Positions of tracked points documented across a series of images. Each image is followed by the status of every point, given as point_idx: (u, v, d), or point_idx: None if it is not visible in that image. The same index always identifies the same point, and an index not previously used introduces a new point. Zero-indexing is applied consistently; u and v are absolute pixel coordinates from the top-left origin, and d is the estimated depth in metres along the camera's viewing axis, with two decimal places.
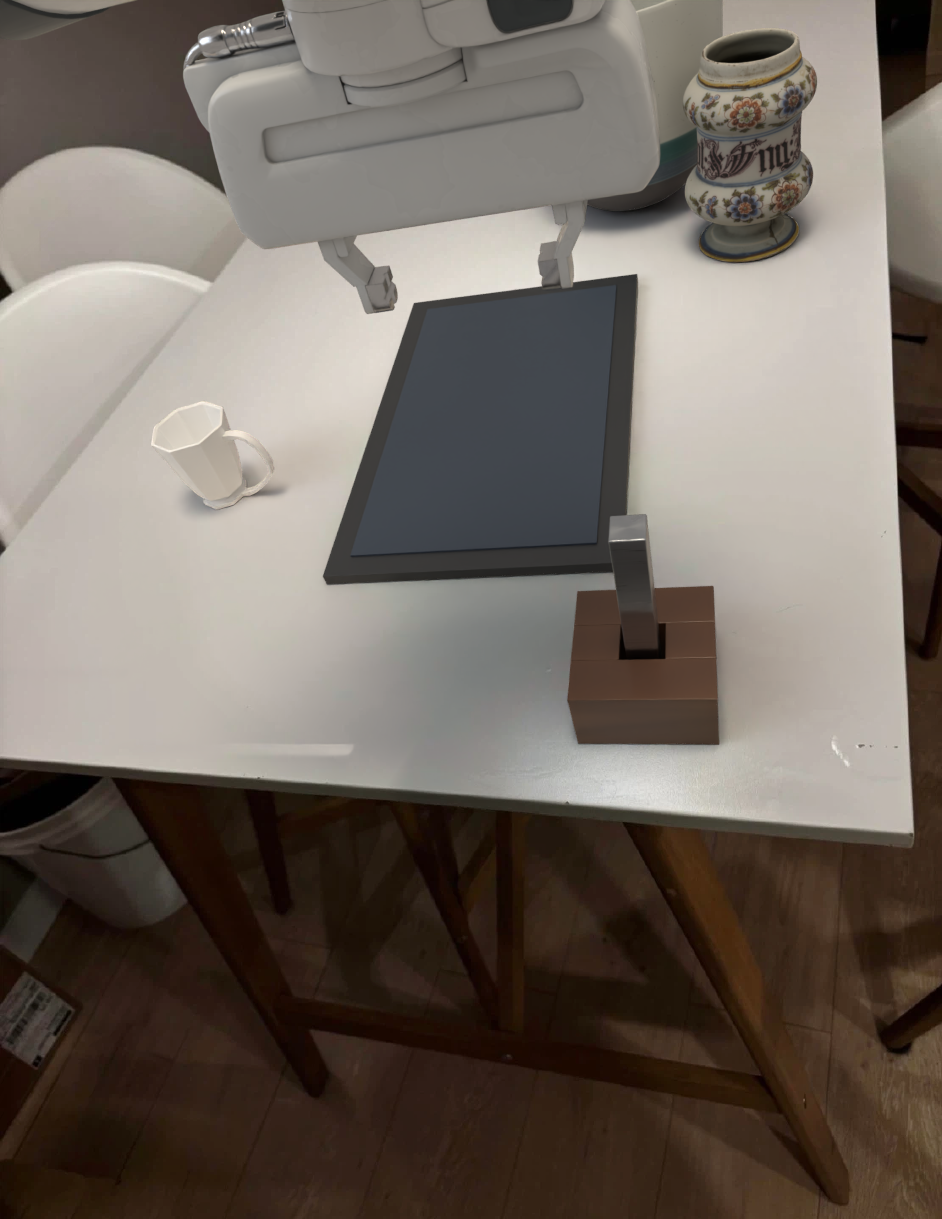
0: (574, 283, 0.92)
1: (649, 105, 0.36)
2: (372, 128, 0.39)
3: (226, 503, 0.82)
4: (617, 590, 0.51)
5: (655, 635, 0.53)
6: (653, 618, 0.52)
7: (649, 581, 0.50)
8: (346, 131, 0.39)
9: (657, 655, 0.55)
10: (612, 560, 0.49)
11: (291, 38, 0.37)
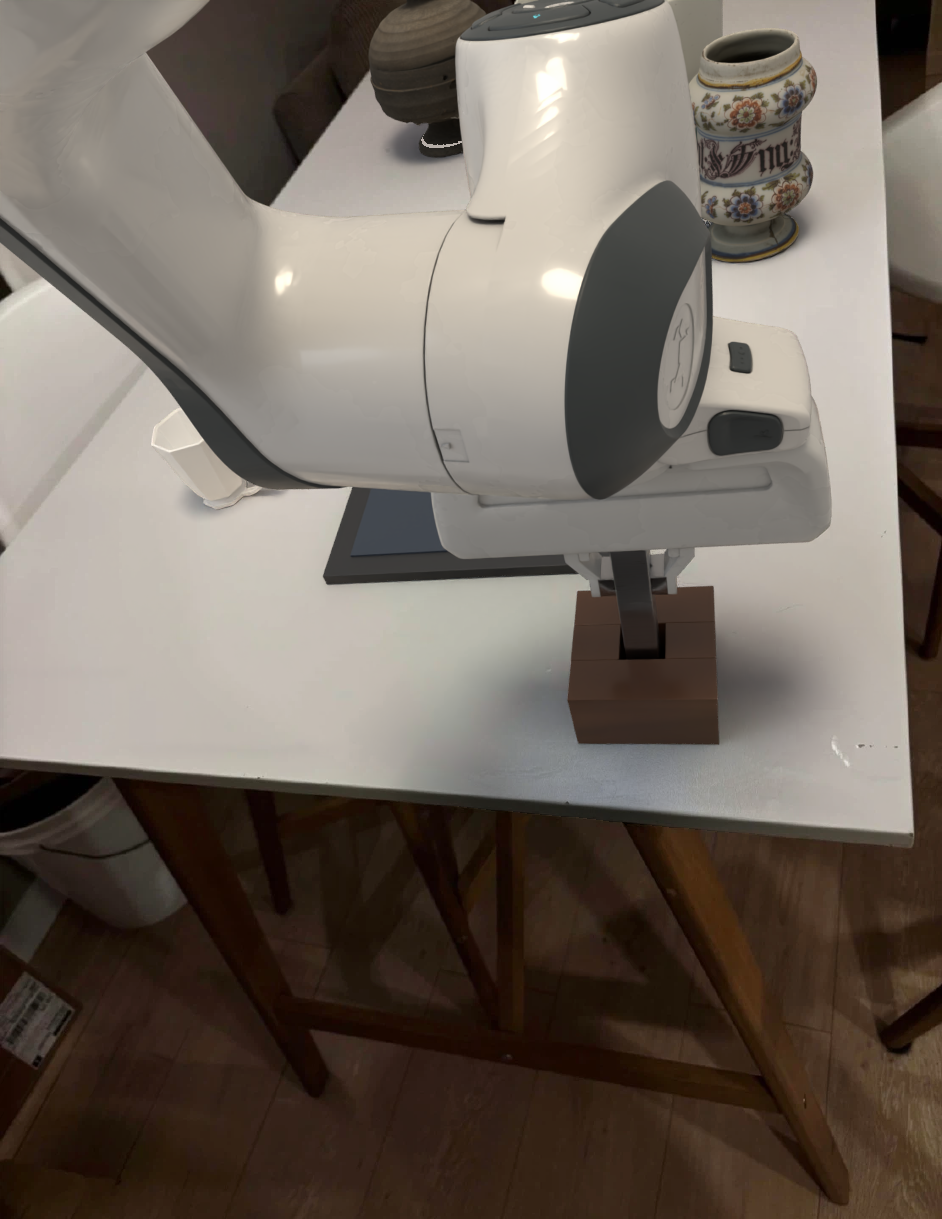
0: None
1: (830, 492, 0.42)
2: None
3: (226, 503, 0.82)
4: (617, 590, 0.51)
5: (655, 635, 0.53)
6: (653, 618, 0.52)
7: (649, 581, 0.50)
8: None
9: (657, 655, 0.55)
10: (611, 560, 0.49)
11: None
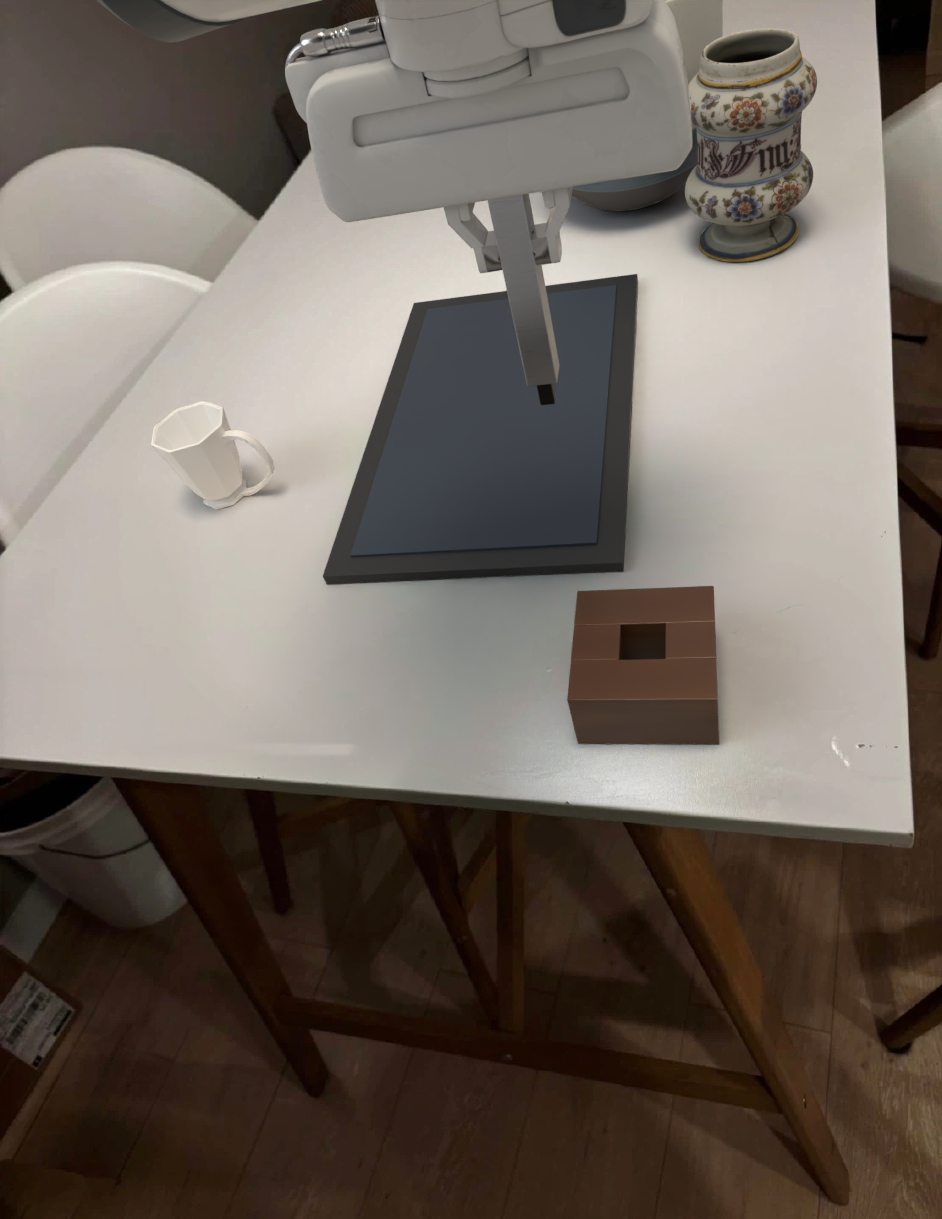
0: (574, 283, 0.92)
1: (685, 96, 0.43)
2: (447, 116, 0.45)
3: (226, 503, 0.82)
4: (501, 259, 0.52)
5: (544, 319, 0.54)
6: (539, 295, 0.53)
7: (530, 244, 0.51)
8: (424, 119, 0.46)
9: (549, 346, 0.56)
10: (492, 217, 0.50)
11: (381, 39, 0.44)
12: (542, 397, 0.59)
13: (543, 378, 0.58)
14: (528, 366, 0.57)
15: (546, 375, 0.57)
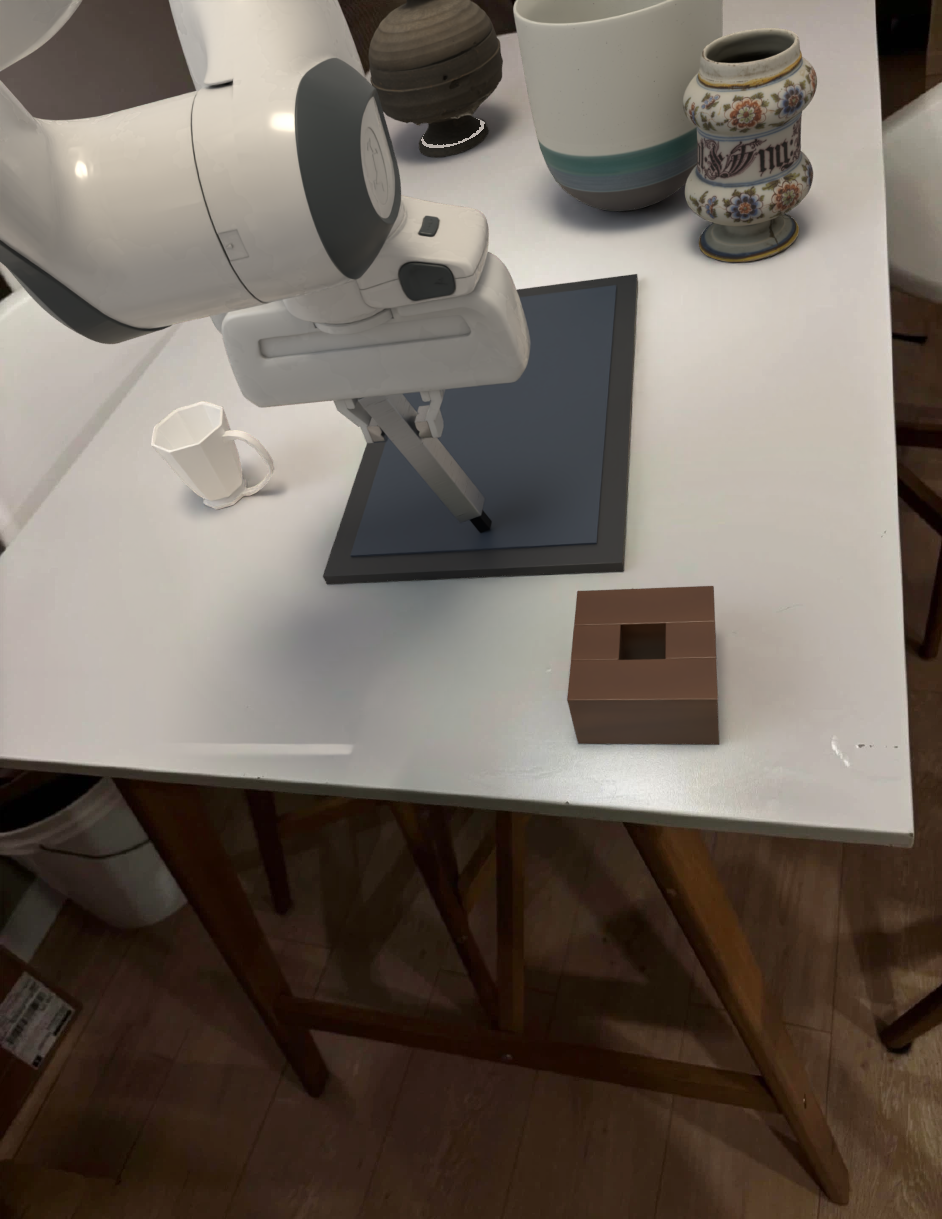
0: (574, 283, 0.92)
1: (514, 335, 0.55)
2: (332, 340, 0.57)
3: (226, 503, 0.82)
4: (392, 441, 0.64)
5: (446, 473, 0.65)
6: (433, 458, 0.64)
7: (407, 425, 0.63)
8: (315, 341, 0.57)
9: (460, 491, 0.67)
10: (371, 416, 0.62)
11: None
12: (478, 527, 0.70)
13: (468, 514, 0.68)
14: (452, 508, 0.68)
15: (469, 512, 0.68)
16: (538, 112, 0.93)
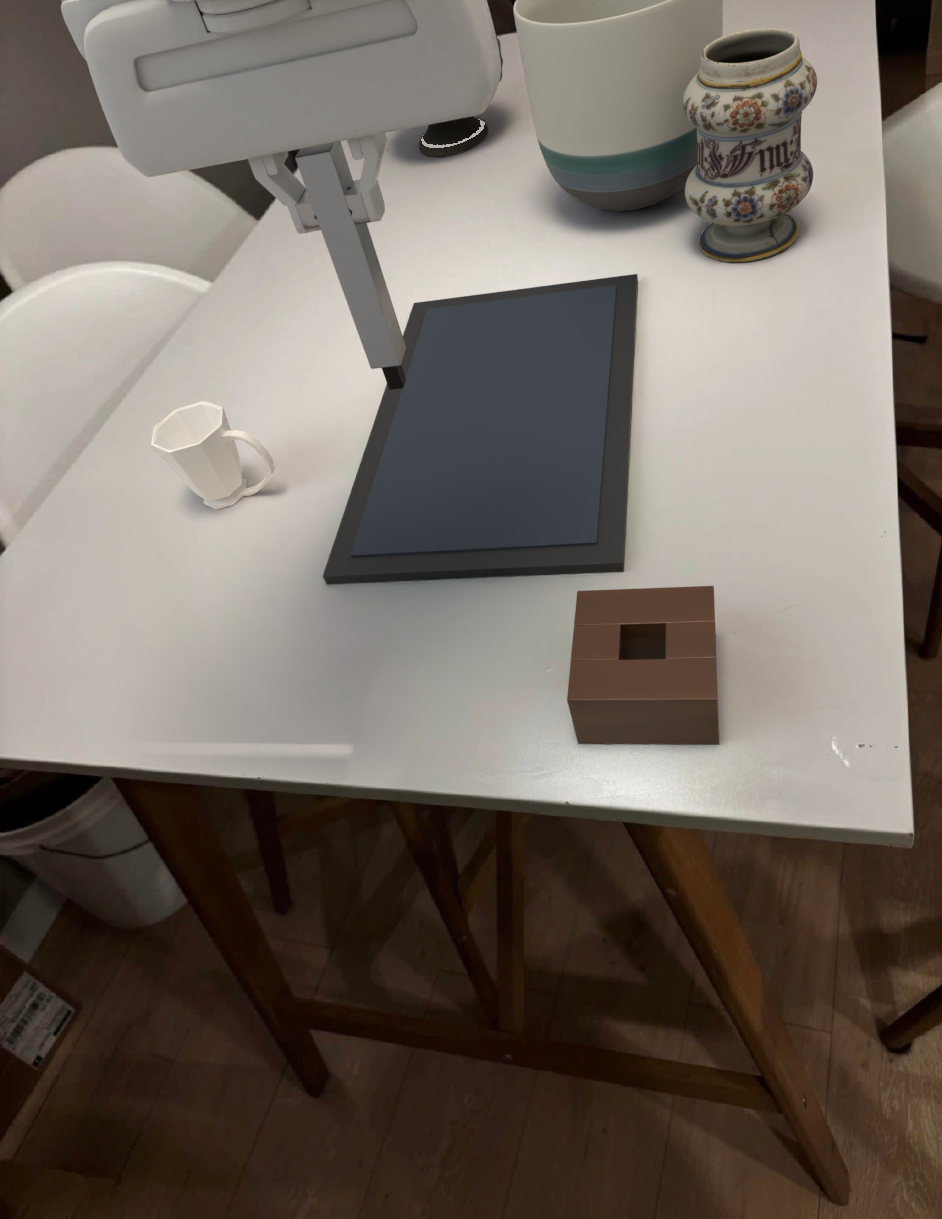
0: (574, 283, 0.92)
1: (476, 29, 0.40)
2: (233, 56, 0.42)
3: (226, 503, 0.82)
4: (322, 231, 0.49)
5: (376, 296, 0.52)
6: (368, 270, 0.50)
7: (349, 214, 0.48)
8: (209, 59, 0.42)
9: (386, 326, 0.53)
10: (306, 186, 0.47)
11: None
12: (389, 381, 0.57)
13: (385, 360, 0.55)
14: (368, 347, 0.54)
15: (388, 357, 0.55)
16: (538, 112, 0.93)
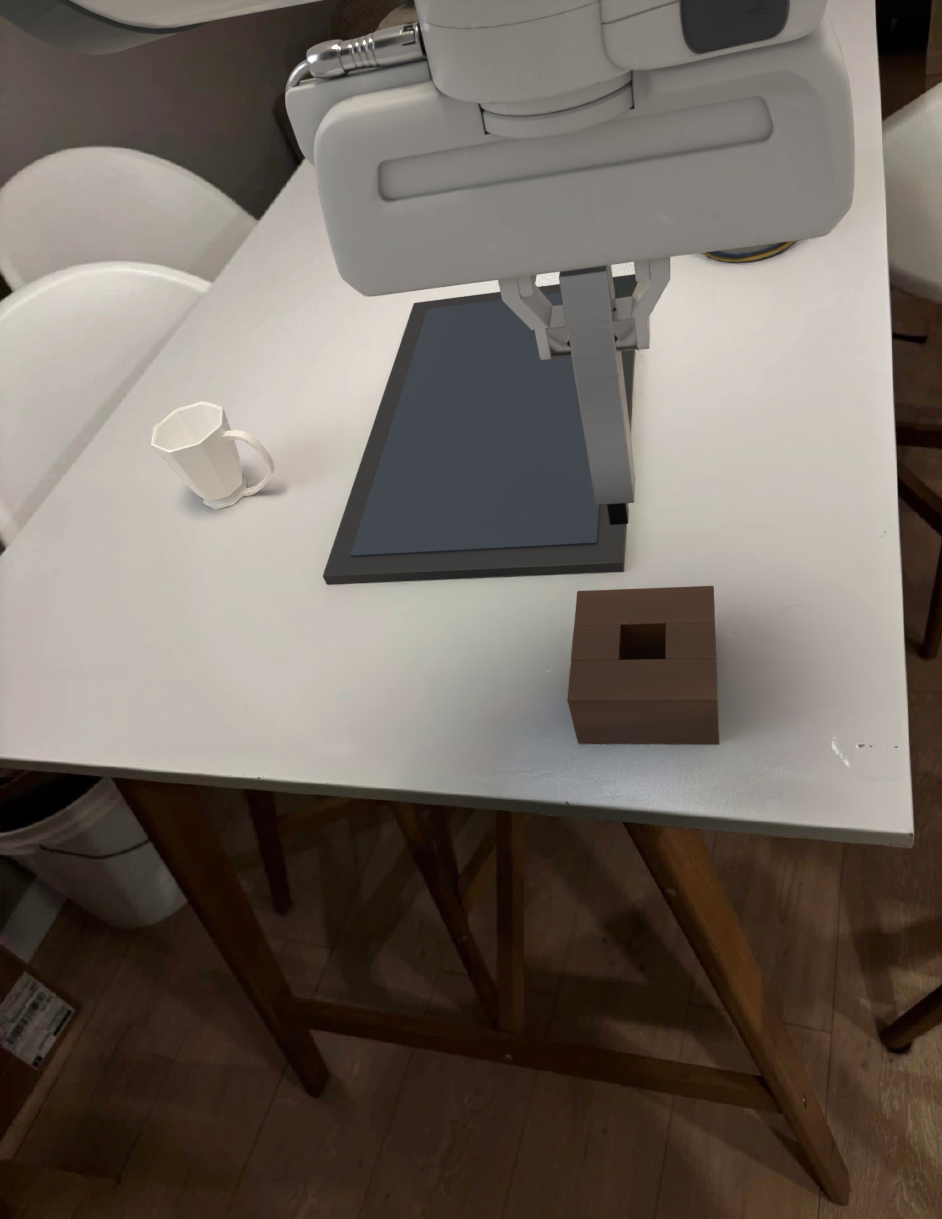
0: None
1: (853, 138, 0.30)
2: (510, 162, 0.33)
3: (226, 503, 0.82)
4: (573, 358, 0.40)
5: (624, 430, 0.42)
6: (620, 402, 0.41)
7: (613, 341, 0.39)
8: (478, 165, 0.33)
9: (627, 461, 0.44)
10: (565, 308, 0.38)
11: (420, 56, 0.31)
12: (613, 516, 0.47)
13: (617, 497, 0.46)
14: (599, 483, 0.45)
15: (621, 493, 0.45)
16: None
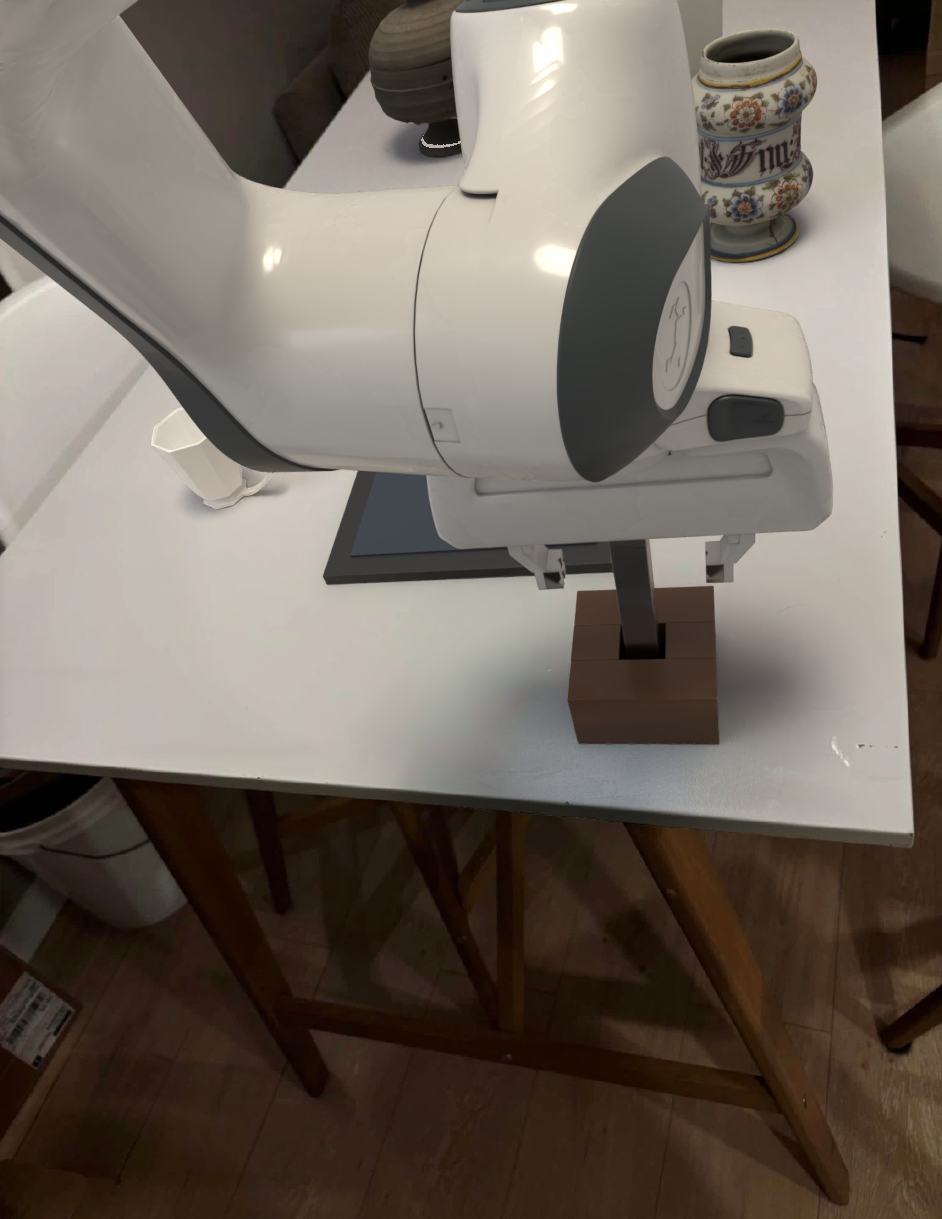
0: None
1: None
2: None
3: (226, 503, 0.82)
4: (617, 587, 0.51)
5: (655, 632, 0.53)
6: (653, 615, 0.52)
7: (649, 578, 0.50)
8: None
9: (657, 652, 0.55)
10: (612, 557, 0.49)
11: None
12: None
13: None
14: None
15: None
16: None
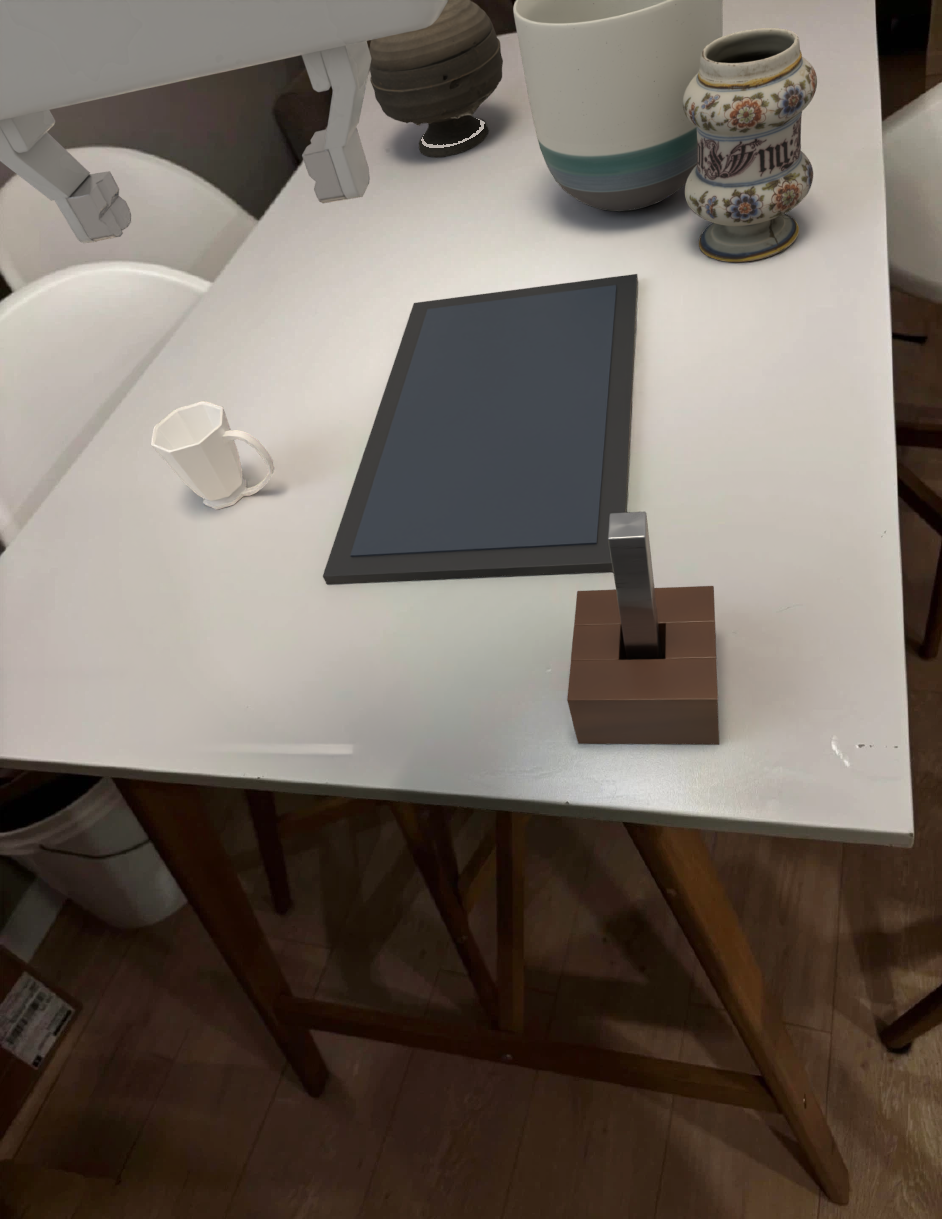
0: (574, 283, 0.92)
1: None
2: None
3: (226, 503, 0.82)
4: (617, 587, 0.51)
5: (655, 632, 0.53)
6: (653, 615, 0.52)
7: (649, 578, 0.50)
8: None
9: (657, 652, 0.55)
10: (612, 557, 0.49)
11: None
12: None
13: None
14: None
15: None
16: (538, 112, 0.93)
